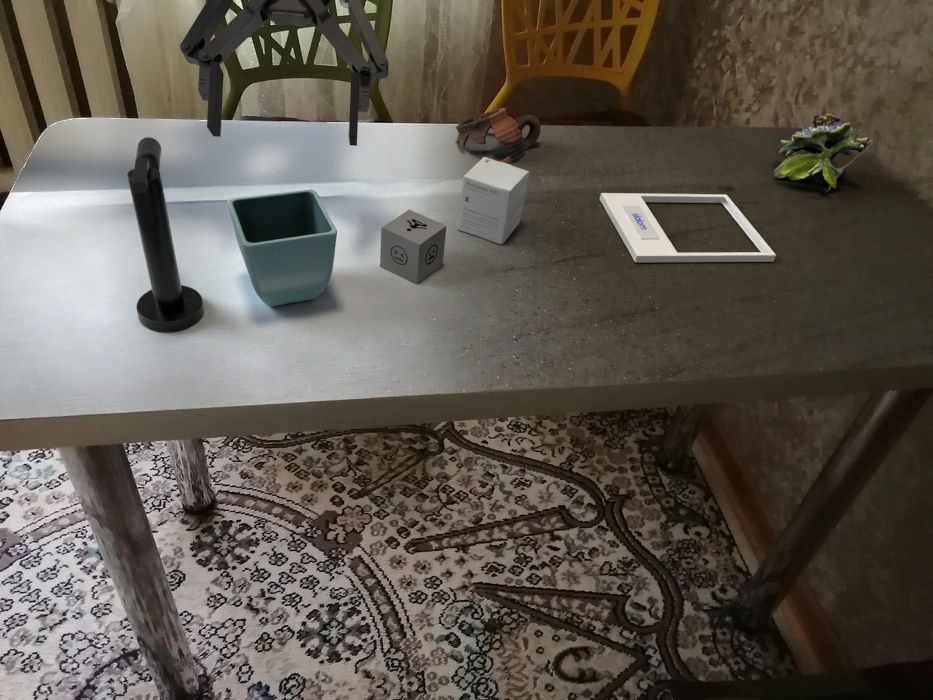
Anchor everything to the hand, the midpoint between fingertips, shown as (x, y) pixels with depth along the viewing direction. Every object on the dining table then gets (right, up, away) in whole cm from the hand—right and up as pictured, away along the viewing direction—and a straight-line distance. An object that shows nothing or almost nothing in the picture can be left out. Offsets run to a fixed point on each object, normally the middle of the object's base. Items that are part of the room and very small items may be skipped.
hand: (284, 137), depth 74 cm
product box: (+21, -6, +17) cm, 27 cm away
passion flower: (+69, +3, +35) cm, 78 cm away
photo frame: (+46, -6, +21) cm, 51 cm away
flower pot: (-1, -15, +3) cm, 15 cm away
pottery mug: (+23, +5, +30) cm, 38 cm away
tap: (-11, -16, 0) cm, 20 cm away
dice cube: (+12, -12, +9) cm, 19 cm away
